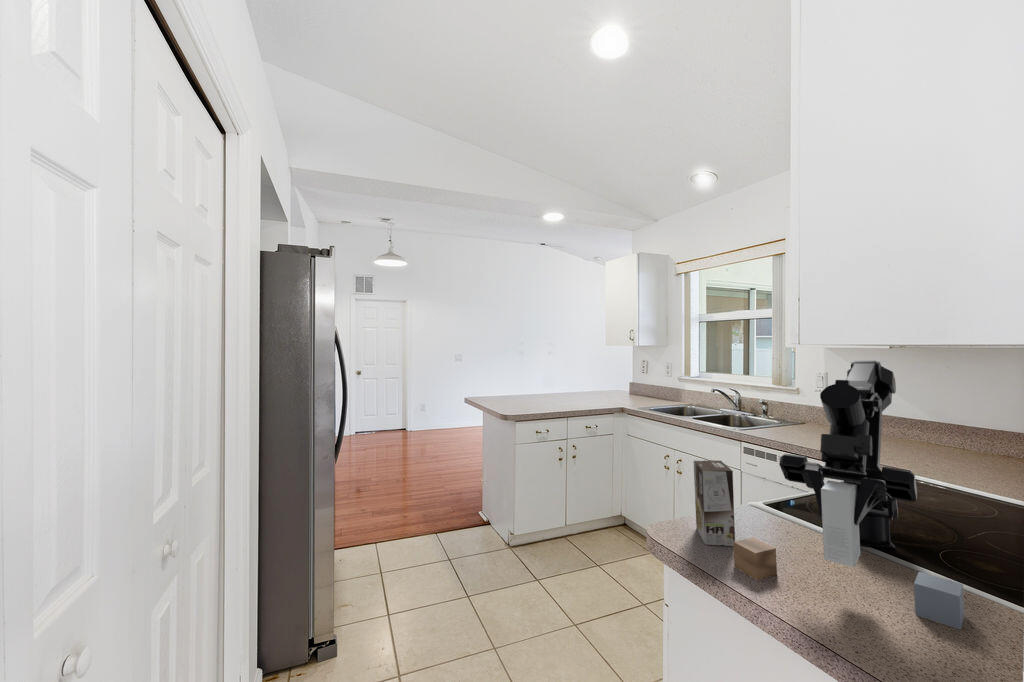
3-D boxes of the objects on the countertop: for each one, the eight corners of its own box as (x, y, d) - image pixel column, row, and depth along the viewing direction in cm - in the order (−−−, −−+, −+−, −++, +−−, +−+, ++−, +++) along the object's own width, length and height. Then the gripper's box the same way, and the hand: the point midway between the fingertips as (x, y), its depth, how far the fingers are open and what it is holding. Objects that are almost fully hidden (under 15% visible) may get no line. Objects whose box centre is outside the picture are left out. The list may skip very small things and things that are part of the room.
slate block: (920, 602, 71) (919, 571, 71) (964, 616, 67) (962, 583, 67) (915, 615, 68) (913, 583, 68) (961, 630, 64) (959, 596, 64)
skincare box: (830, 547, 77) (827, 479, 77) (860, 555, 74) (858, 484, 74) (822, 559, 73) (819, 487, 73) (854, 568, 70) (851, 493, 70)
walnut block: (754, 562, 86) (753, 537, 86) (776, 575, 81) (775, 548, 81) (734, 567, 84) (733, 541, 84) (756, 580, 79) (755, 553, 79)
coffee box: (736, 547, 92) (733, 470, 92) (704, 545, 93) (701, 470, 94) (724, 529, 101) (722, 459, 101) (695, 527, 102) (692, 459, 103)
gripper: (779, 411, 83) (764, 483, 75) (912, 420, 70) (909, 510, 62) (792, 444, 88) (779, 515, 81) (917, 459, 75) (916, 545, 67)
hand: (838, 520), depth 72 cm, fingers closed on skincare box, 4 cm apart
